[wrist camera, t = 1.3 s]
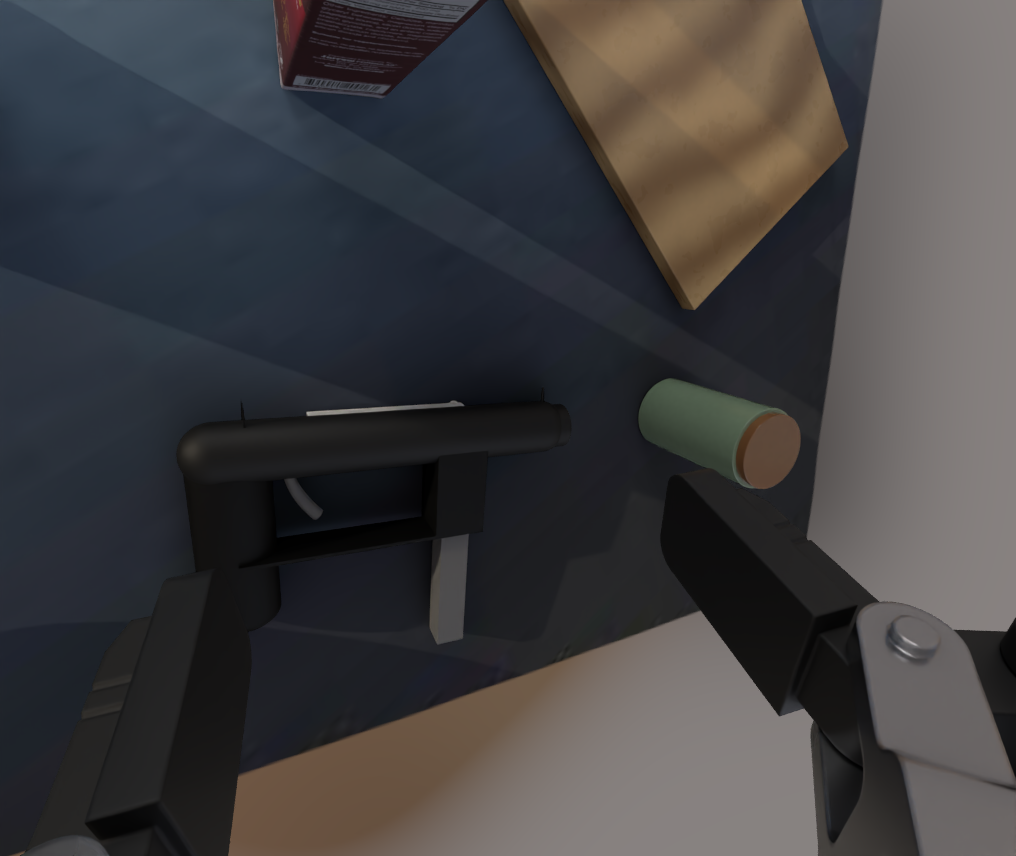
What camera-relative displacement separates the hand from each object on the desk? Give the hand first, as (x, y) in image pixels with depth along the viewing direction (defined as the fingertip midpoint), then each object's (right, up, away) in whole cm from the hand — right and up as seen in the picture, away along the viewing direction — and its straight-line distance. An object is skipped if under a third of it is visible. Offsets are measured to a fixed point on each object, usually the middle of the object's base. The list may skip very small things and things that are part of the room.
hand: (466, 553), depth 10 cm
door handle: (-6, -3, +23) cm, 24 cm away
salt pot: (+12, +3, +29) cm, 32 cm away
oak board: (+11, +24, +22) cm, 34 cm away
